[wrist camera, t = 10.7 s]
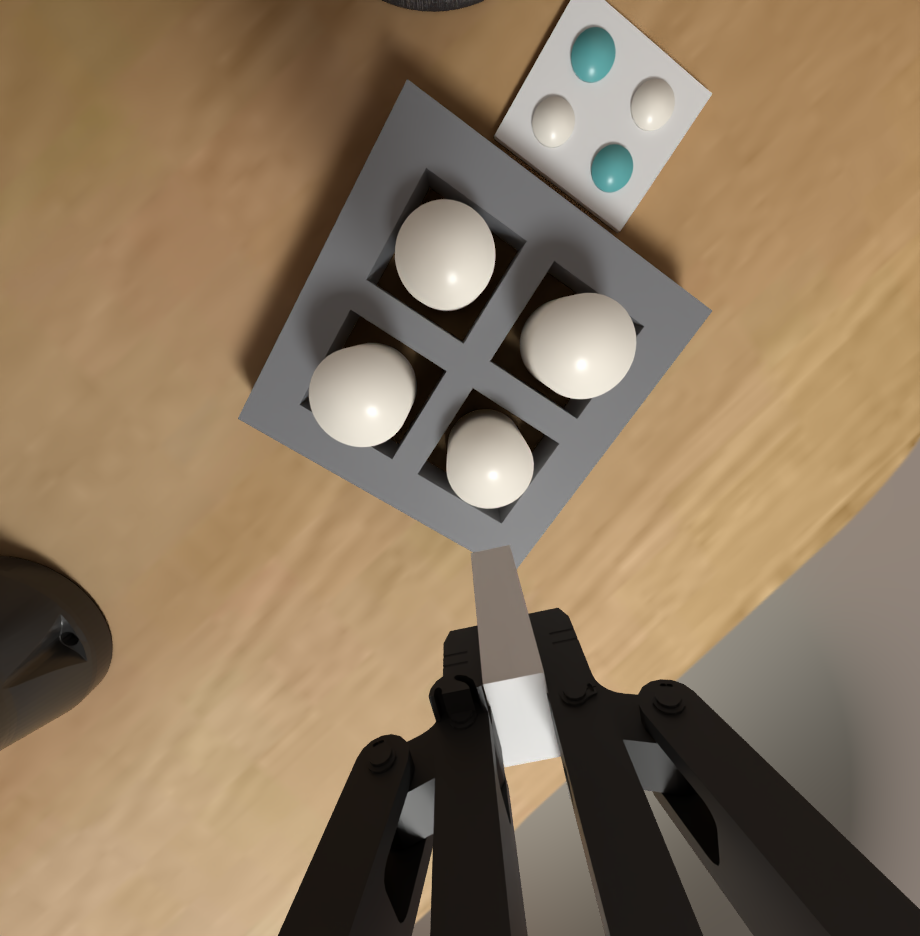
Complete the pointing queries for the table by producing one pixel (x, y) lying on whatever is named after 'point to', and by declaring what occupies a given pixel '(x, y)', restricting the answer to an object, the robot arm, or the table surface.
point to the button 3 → (488, 459)
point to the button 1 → (363, 394)
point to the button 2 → (445, 254)
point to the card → (601, 111)
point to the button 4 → (579, 344)
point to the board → (469, 361)
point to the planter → (433, 4)
